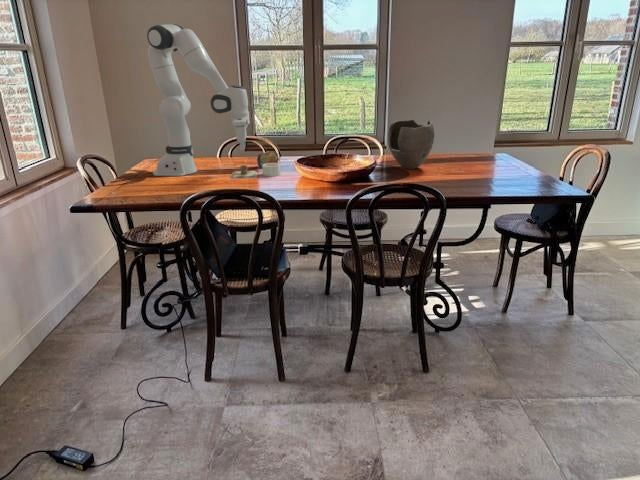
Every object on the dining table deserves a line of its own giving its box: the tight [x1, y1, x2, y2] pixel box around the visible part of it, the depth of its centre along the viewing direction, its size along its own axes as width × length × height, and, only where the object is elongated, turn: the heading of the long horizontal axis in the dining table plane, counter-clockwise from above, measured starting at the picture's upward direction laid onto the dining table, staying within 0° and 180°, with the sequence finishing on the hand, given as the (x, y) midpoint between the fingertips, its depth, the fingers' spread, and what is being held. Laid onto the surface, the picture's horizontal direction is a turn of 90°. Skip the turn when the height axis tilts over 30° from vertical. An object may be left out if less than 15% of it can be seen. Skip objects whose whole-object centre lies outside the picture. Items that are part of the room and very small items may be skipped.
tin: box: [256, 150, 279, 169], centre depth 256 cm, size 15×3×8 cm, turn 143°
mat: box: [230, 171, 258, 180], centre depth 238 cm, size 13×13×1 cm
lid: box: [232, 164, 256, 179], centre depth 237 cm, size 11×11×5 cm
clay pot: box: [387, 119, 435, 170], centre depth 246 cm, size 24×24×25 cm
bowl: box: [261, 162, 281, 178], centre depth 238 cm, size 9×9×5 cm
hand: (243, 148), depth 232 cm, fingers open, 8 cm apart
